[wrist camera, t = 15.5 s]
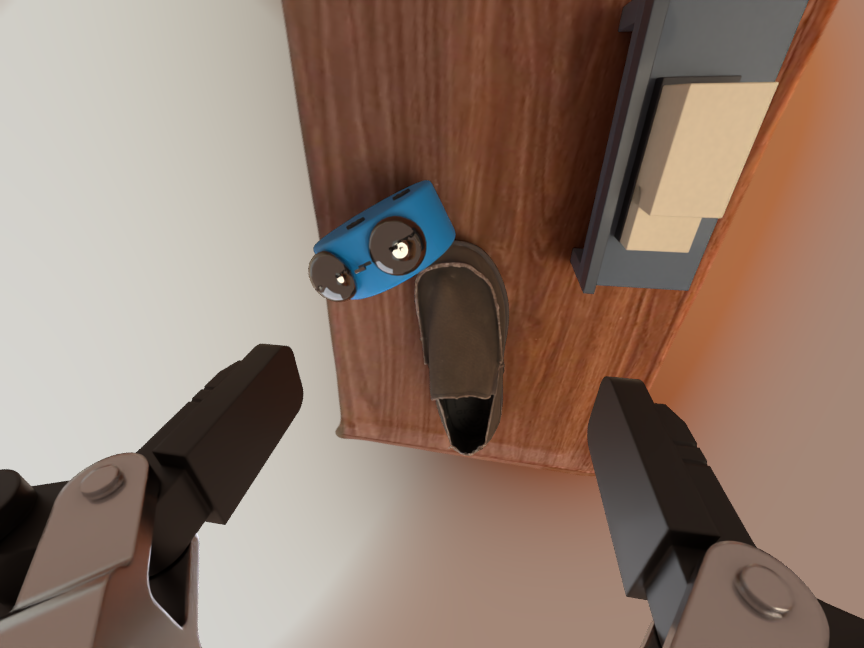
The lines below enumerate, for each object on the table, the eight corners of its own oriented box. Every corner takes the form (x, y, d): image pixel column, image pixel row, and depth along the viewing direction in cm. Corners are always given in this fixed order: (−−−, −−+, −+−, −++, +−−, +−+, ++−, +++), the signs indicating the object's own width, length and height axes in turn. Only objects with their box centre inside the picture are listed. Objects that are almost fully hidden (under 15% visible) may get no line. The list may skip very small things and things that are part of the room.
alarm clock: (369, 263, 45) (318, 327, 33) (341, 219, 43) (275, 270, 30) (463, 219, 40) (445, 274, 28) (438, 166, 38) (406, 200, 25)
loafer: (497, 222, 40) (496, 257, 31) (523, 415, 54) (527, 476, 46) (405, 238, 43) (379, 275, 34) (453, 417, 57) (444, 476, 48)
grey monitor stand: (623, 6, 29) (658, -21, 22) (761, 0, 28) (843, -31, 21) (569, 261, 41) (583, 293, 34) (664, 266, 39) (697, 300, 33)
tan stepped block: (656, 77, 26) (692, 73, 21) (731, 76, 26) (786, 71, 21) (613, 236, 33) (633, 261, 28) (672, 238, 32) (704, 265, 27)
